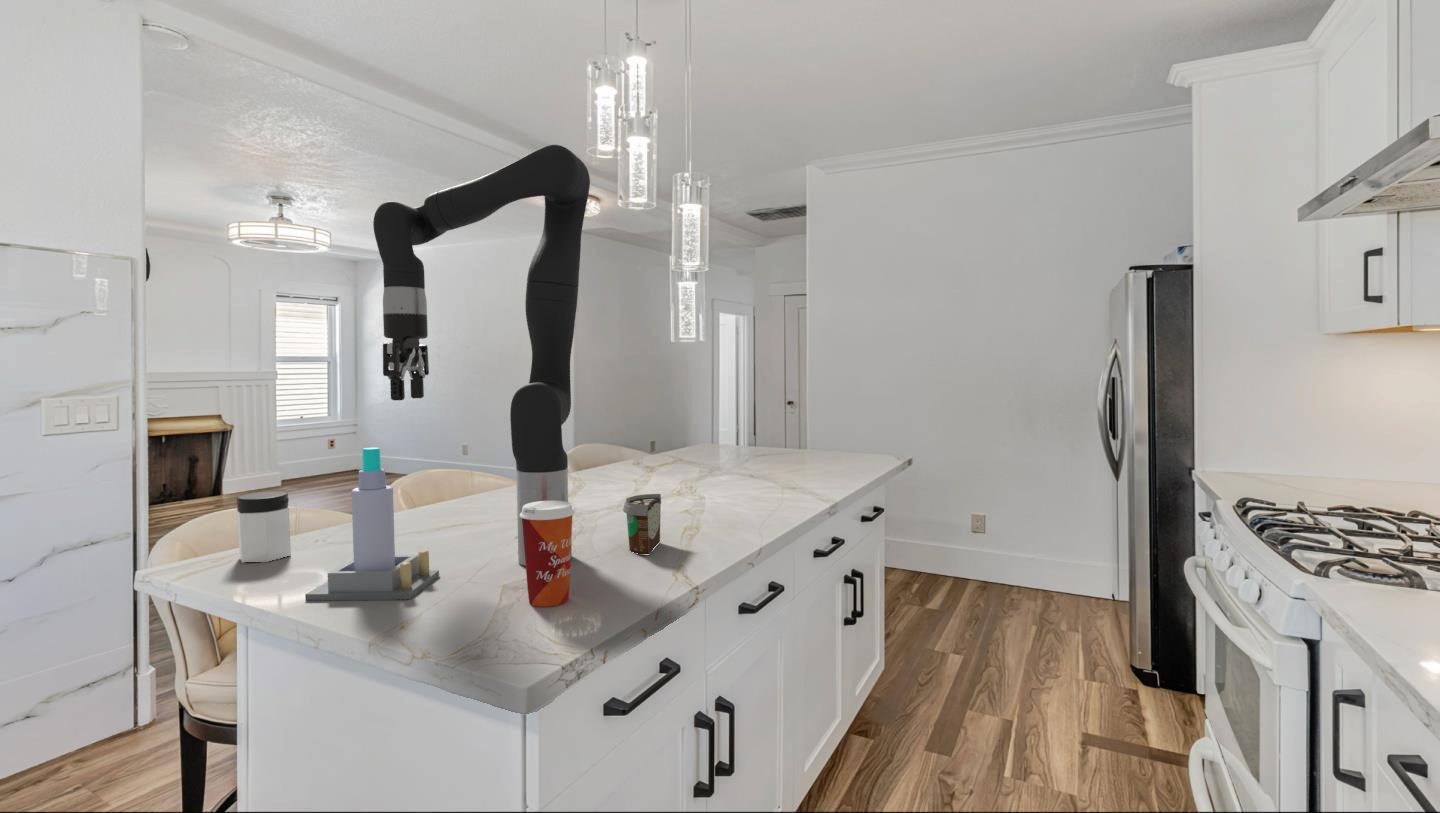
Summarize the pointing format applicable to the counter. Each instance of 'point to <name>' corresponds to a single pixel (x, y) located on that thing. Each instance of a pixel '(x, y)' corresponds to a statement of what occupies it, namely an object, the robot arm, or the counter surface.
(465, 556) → the counter surface
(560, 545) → the coffee cup
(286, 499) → the jar
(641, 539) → the food container
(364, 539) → the spray bottle
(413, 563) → the dock
